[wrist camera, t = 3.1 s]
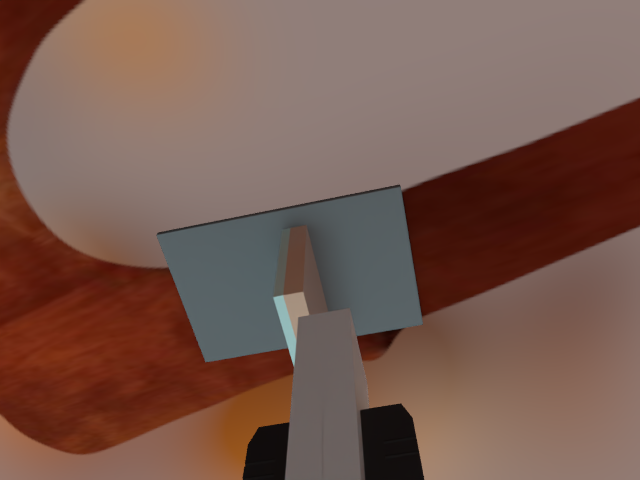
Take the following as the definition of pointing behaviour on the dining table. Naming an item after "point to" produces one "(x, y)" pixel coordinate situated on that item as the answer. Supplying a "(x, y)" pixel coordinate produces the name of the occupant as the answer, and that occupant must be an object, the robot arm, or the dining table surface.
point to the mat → (262, 259)
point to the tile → (297, 283)
